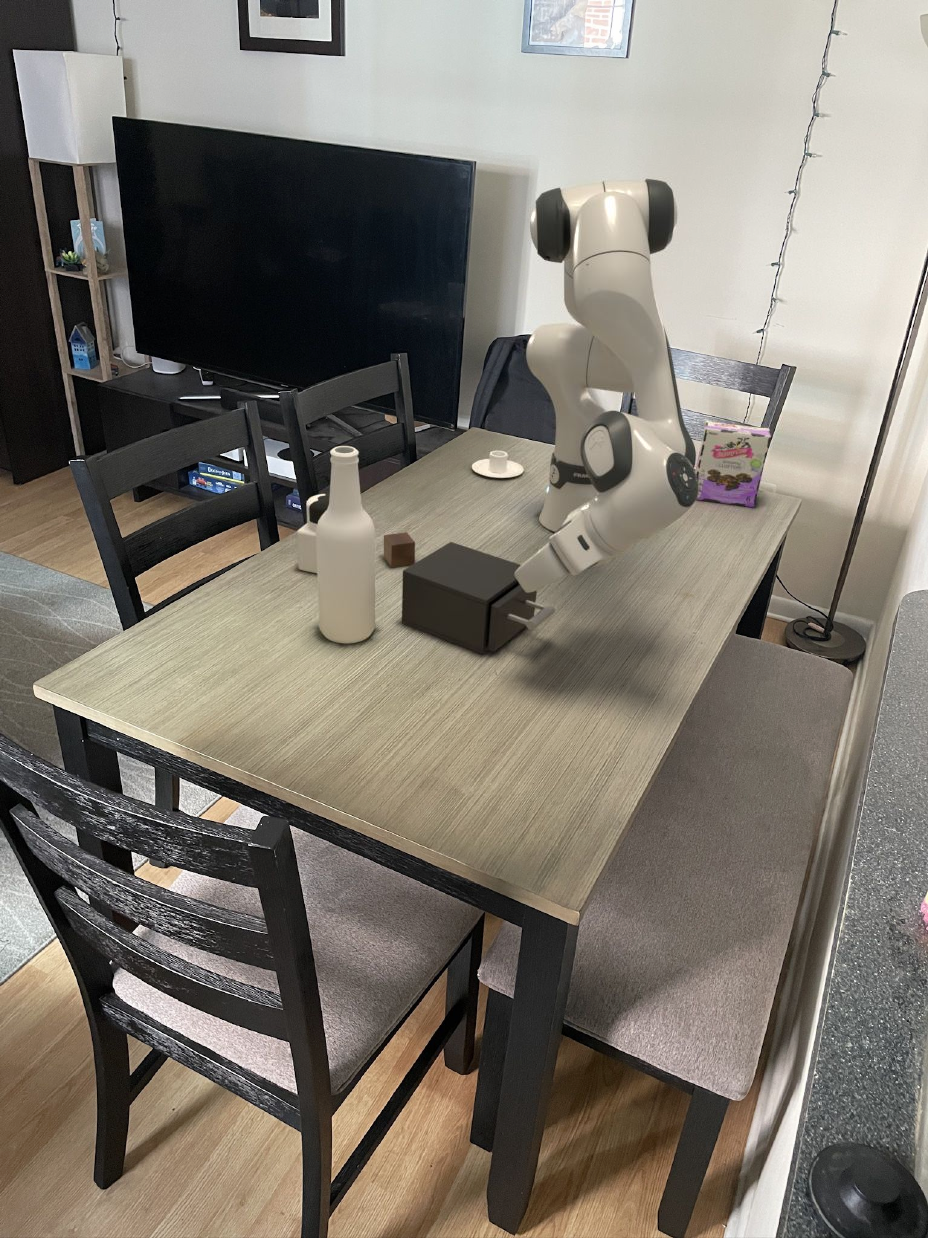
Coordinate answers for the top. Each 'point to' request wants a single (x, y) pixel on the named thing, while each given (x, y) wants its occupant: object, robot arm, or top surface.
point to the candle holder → (497, 466)
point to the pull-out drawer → (513, 615)
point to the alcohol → (345, 556)
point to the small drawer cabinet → (455, 594)
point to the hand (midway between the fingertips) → (529, 574)
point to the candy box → (731, 463)
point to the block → (399, 549)
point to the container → (311, 533)
